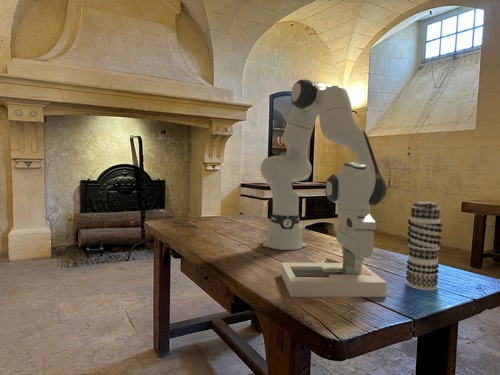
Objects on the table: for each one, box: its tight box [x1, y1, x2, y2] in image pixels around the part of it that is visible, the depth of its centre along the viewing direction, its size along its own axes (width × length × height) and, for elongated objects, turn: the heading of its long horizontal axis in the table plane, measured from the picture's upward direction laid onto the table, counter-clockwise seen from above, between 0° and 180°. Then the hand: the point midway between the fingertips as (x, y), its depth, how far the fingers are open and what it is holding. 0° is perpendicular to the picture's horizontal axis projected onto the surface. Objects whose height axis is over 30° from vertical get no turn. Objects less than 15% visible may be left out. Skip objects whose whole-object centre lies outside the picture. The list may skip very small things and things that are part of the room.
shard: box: [324, 257, 341, 263], centre depth 119 cm, size 11×8×2 cm
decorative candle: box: [405, 201, 443, 292], centre depth 100 cm, size 9×9×25 cm
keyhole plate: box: [280, 262, 388, 298], centre depth 99 cm, size 18×26×4 cm
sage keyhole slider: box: [342, 249, 361, 275], centre depth 99 cm, size 8×8×10 cm
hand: (351, 264), depth 99 cm, fingers open, 8 cm apart
